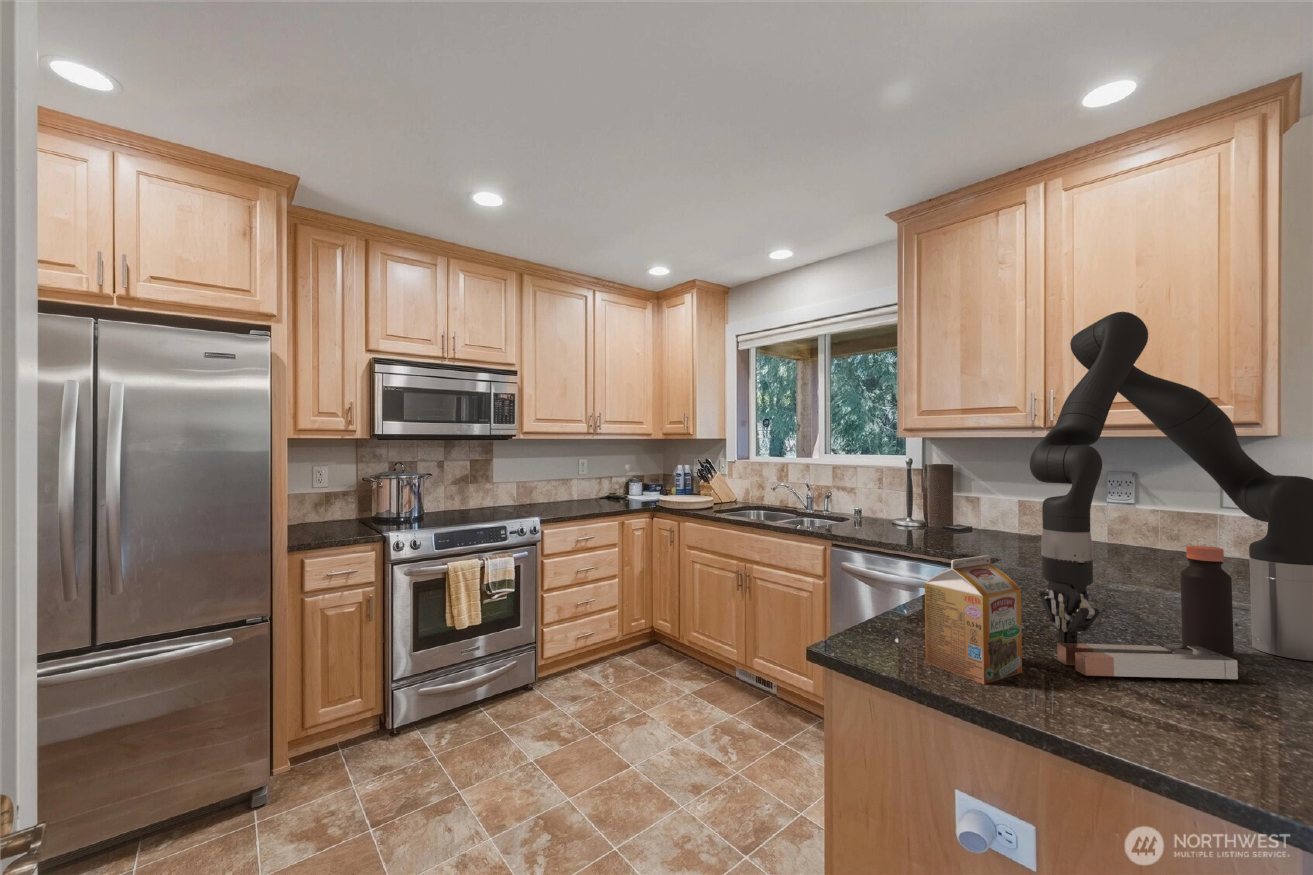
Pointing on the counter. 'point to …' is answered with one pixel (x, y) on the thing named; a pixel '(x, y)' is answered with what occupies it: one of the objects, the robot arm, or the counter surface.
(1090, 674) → the tongs fixed leg
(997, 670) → the milk carton
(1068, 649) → the leg
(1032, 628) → the counter surface
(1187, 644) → the bottle
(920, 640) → the counter surface
